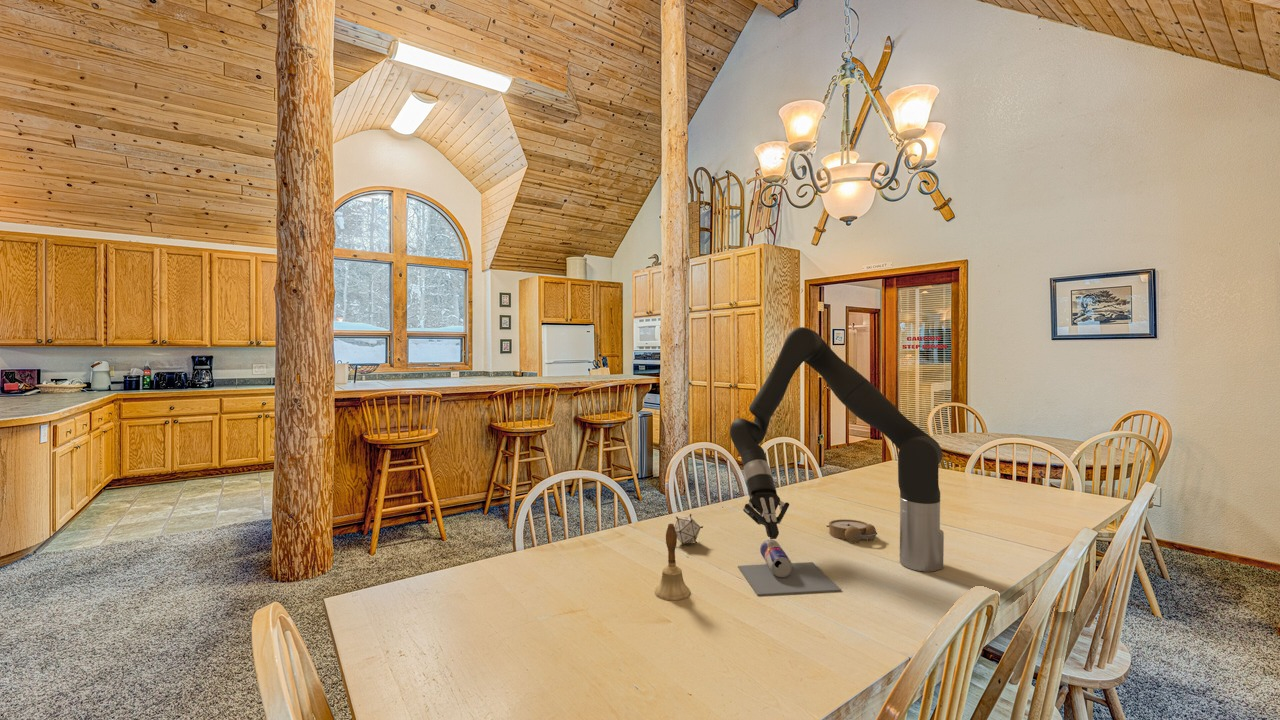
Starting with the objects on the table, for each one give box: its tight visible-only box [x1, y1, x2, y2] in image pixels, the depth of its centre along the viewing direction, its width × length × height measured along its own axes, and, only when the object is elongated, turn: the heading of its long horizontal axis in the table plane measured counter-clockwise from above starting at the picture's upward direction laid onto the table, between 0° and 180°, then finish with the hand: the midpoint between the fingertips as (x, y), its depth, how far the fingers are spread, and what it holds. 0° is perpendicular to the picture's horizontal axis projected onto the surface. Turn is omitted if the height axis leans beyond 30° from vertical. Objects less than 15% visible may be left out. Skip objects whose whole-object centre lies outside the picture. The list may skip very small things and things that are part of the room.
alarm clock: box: [826, 518, 878, 544], centre depth 161 cm, size 11×5×15 cm
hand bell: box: [654, 523, 691, 601], centre depth 126 cm, size 8×8×16 cm
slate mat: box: [737, 561, 842, 597], centre depth 133 cm, size 20×16×1 cm
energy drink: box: [759, 539, 793, 577], centre depth 138 cm, size 5×5×12 cm
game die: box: [674, 513, 704, 547], centre depth 156 cm, size 9×8×10 cm
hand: (774, 537), depth 141 cm, fingers closed
